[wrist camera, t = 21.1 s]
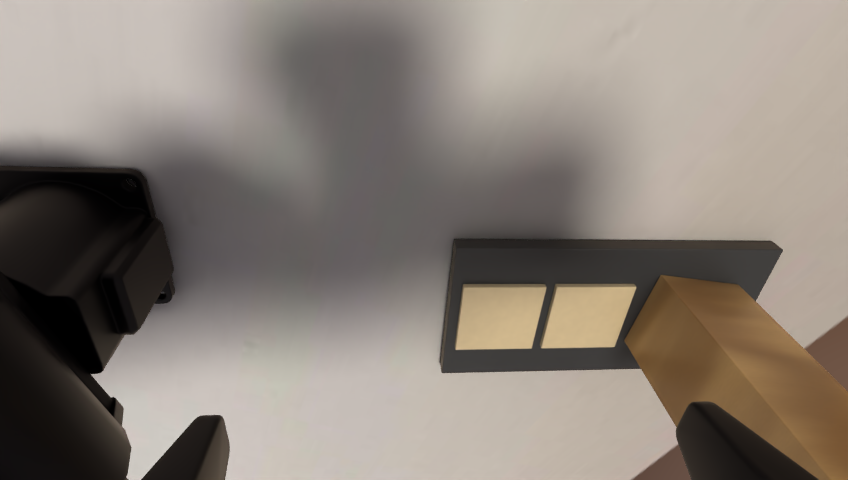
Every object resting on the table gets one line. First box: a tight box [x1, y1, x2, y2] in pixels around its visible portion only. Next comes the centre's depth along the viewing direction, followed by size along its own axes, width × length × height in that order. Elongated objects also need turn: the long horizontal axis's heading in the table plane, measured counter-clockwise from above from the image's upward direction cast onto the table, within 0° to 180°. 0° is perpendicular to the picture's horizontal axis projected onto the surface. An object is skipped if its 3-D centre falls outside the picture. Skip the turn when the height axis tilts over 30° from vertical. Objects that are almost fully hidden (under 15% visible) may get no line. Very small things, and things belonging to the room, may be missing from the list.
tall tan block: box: [624, 275, 848, 480], centre depth 21 cm, size 4×4×11 cm
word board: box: [440, 239, 783, 373], centre depth 25 cm, size 16×8×1 cm, turn 86°
